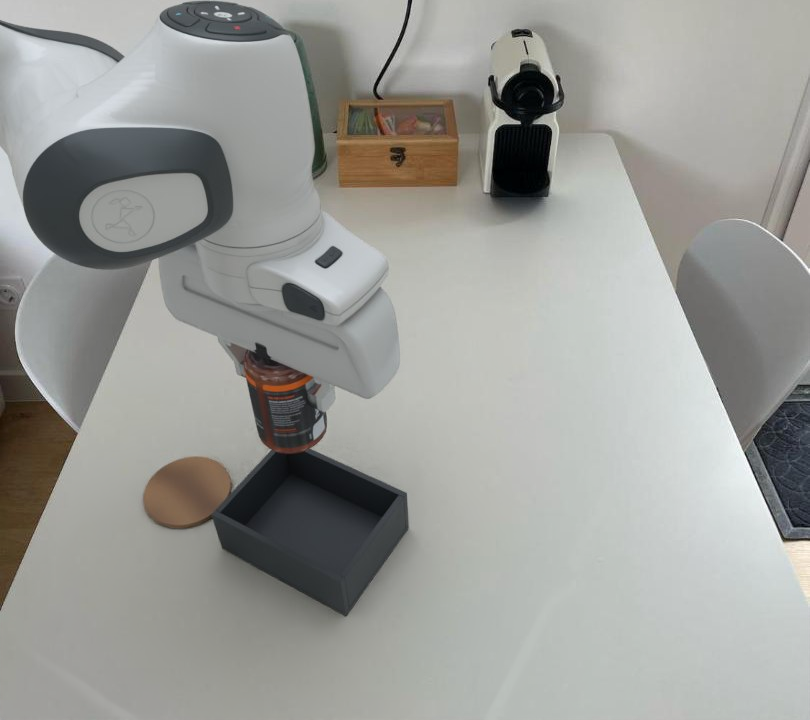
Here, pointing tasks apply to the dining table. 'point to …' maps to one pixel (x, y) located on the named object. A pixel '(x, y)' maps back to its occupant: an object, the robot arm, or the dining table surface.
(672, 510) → the dining table surface
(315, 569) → the bin
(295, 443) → the supplement bottle
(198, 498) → the coaster
